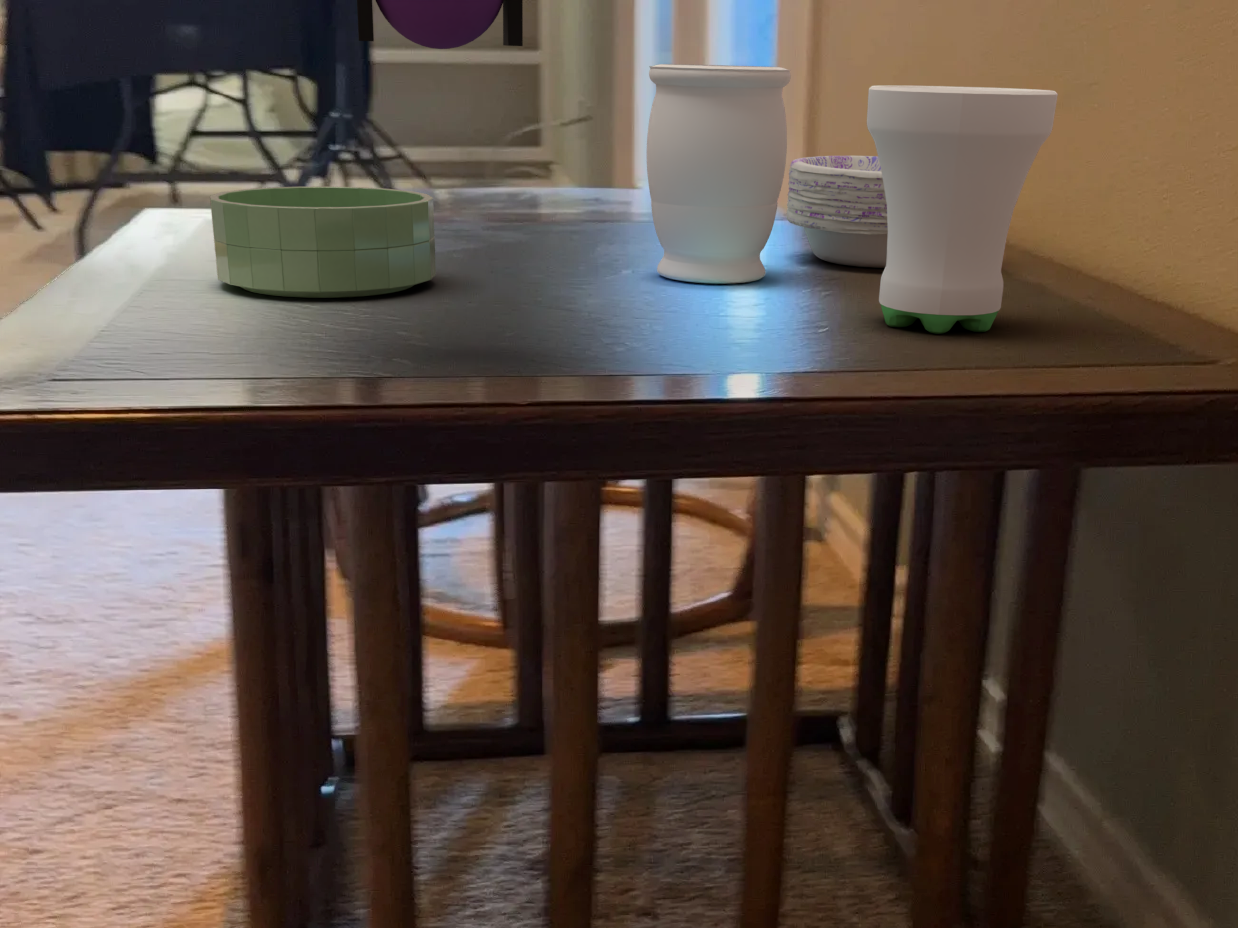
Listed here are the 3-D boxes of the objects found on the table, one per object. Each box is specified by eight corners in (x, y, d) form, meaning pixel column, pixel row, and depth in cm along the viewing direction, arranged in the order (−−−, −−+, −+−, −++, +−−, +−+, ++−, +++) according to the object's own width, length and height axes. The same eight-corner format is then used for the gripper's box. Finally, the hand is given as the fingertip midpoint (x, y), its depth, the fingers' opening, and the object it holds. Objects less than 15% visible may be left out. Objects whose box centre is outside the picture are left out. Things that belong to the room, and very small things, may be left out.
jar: (625, 268, 109) (629, 62, 103) (746, 265, 112) (757, 65, 106) (670, 289, 100) (677, 65, 94) (801, 285, 103) (815, 68, 97)
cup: (1022, 314, 93) (1051, 88, 88) (1031, 345, 83) (1065, 92, 78) (854, 305, 95) (873, 84, 90) (843, 334, 85) (864, 86, 80)
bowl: (173, 291, 95) (163, 199, 92) (293, 263, 108) (287, 182, 106) (370, 308, 90) (364, 212, 88) (469, 276, 104) (467, 192, 101)
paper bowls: (932, 280, 107) (943, 172, 104) (754, 262, 114) (759, 161, 110) (989, 258, 119) (1000, 161, 116) (825, 244, 126) (831, 152, 123)
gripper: (193, -560, 58) (238, 36, 67) (655, -511, 61) (639, 50, 71) (210, -498, 65) (249, 36, 74) (626, -457, 68) (614, 48, 77)
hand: (440, 42), depth 72 cm, fingers closed on ball, 7 cm apart
